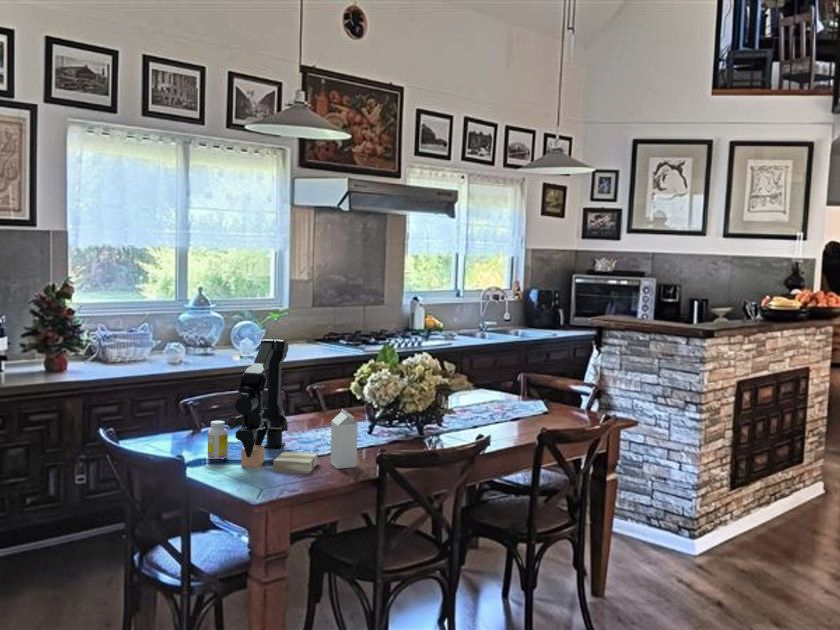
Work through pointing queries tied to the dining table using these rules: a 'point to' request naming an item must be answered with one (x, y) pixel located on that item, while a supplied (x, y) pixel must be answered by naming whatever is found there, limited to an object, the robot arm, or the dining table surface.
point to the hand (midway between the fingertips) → (253, 453)
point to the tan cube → (253, 457)
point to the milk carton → (344, 441)
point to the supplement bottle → (217, 440)
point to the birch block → (295, 462)
